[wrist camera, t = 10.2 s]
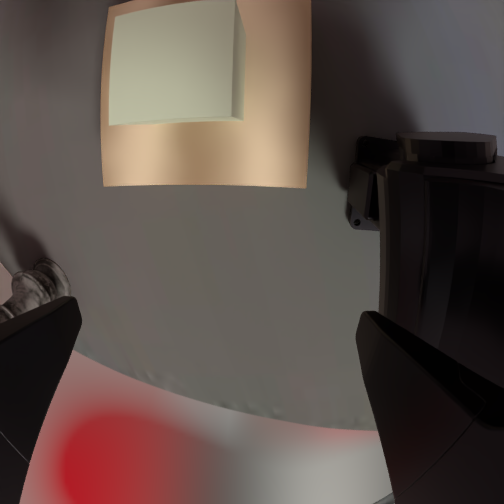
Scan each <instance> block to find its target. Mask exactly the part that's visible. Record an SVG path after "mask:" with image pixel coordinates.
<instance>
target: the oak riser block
mask: <svg viewBox="0 0 504 504" xmlns="http://www.w3.org/2000/svg"><path fill="white" fill-rule="evenodd" d="M193 1H202V0H133V1H129V2H126V3H122V4H118V5H115V6H111V7H109V11H108V18H107V25H106V33H105V42H104V52H103V64H102V81H101V153H102V171H103V184H104V187H106V186H130V185H247V186H272V187H291V188H306V181H307V166H308V148H309V128H310V102H311V42H312V39H311V0H236V2H237V6H238V9H239V12H240V16H241V19H242V23H243V26H244V30H245V33H246V55H245V92H244V121H204V122H181V123H166V124H149V125H110V126H109V81H110V63H111V50H112V39H113V30H114V22H115V17H116V16H120V15H124V14H128V13H132V12H136V11H140V10H145V9H150V8H155V7H160V6H165V5H171V4H178V3H185V2H193Z"/></svg>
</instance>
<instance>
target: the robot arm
mask: <svg viewBox="0 0 504 504" xmlns="http://www.w3.org/2000/svg"><path fill="white" fill-rule="evenodd" d="M396 139H397V141H392V140H386V139H380V138H374V137H367V136H361V137H359V139H358V140H357V148H356V161H355V163H353V164H352V165H351V169H350V180H349V190H348V202H349V203H350V204H351V209H350V217H349V223H350V225H351V227H352V228H354V229H358V230H372V231H380V292H379V313H378V312H376V311H364V312H363V313H362V314H361V317H360V320H359V324H358V328H357V331H356V344H357V349H358V354H359V359H360V364H361V370H362V375H363V380H364V384H365V388H366V391H367V394H368V398H369V401H370V404H371V408H372V411H373V415H374V418H375V422H376V426H377V429H378V433H379V436H380V441H381V444H382V448H383V452H384V456H385V460H386V464H387V468H388V473H389V477H390V481H391V486H392V490H393V495H394V499H395V500H394V501H395V504H504V157H503V156H497V141H496V136H494V135H486V134H477V133H467V132H402V133H396ZM364 140H366V141H367V146H366V147H363V145H362V142H363V141H364ZM356 219H359V223H358V224H354V221H355V220H356ZM81 325H82V317H81V313H80V310H79V306H78V303H77V300H76V298H75V297H72V296H62V297H60V298H57V299H55V300H53V301H50V302H48V303H46V304H43V305H41V306H39V307H36V308H34V309H32V310H29V311H27V312H25V313H22V314H20V315H18V316H16V317H13V318H11V319H9V320H7V321H4V322H2V323H0V504H19V503H20V498H21V494H22V490H23V485H24V482H25V478H26V475H27V471H28V467H29V463H30V460H31V457H32V454H33V451H34V447H35V444H36V441H37V438H38V436H39V432H40V430H41V427H42V424H43V421H44V419H45V416H46V414H47V411H48V408H49V406H50V403H51V401H52V398H53V396H54V393H55V391H56V389H57V386H58V384H59V382H60V379H61V377H62V375H63V372H64V370H65V368H66V366H67V363H68V361H69V358H70V355H71V353H72V350H73V347H74V344H75V341H76V339H77V336H78V333H79V330H80V328H81Z"/></svg>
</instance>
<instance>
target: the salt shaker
mask: <svg viewBox="0 0 504 504" xmlns="http://www.w3.org/2000/svg"><path fill="white" fill-rule="evenodd" d="M11 289H12V294H13V295H12V296H11V297H10V298H9V299H8V300H7V301H6V302H5V303H4V304H2V305H0V323H2V322H4V321H7V320H9V319H11V318H13V317H16V316H18V315H20V314H22V313H25V312H27V311H29V310H32V309H34V308H36V307H39V306H41V305H43V304H46V303H48V302H50V301H53V300H55V299H57V298H60V297H62V296H71V288H70V284H69V281H68V279H67V277H66V275H65V273H64V272H63V271H62V269H61V268H60V267H59V266H58V265H57V264H56V263H54V262H53V261H51V260H49V259H40V260H38V261H37V262H36V263H35V265H34V268H33V270H28V271H24V272H23V271H22V272H17V273H16V274H14V276H13V278H12V282H11Z"/></svg>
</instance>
